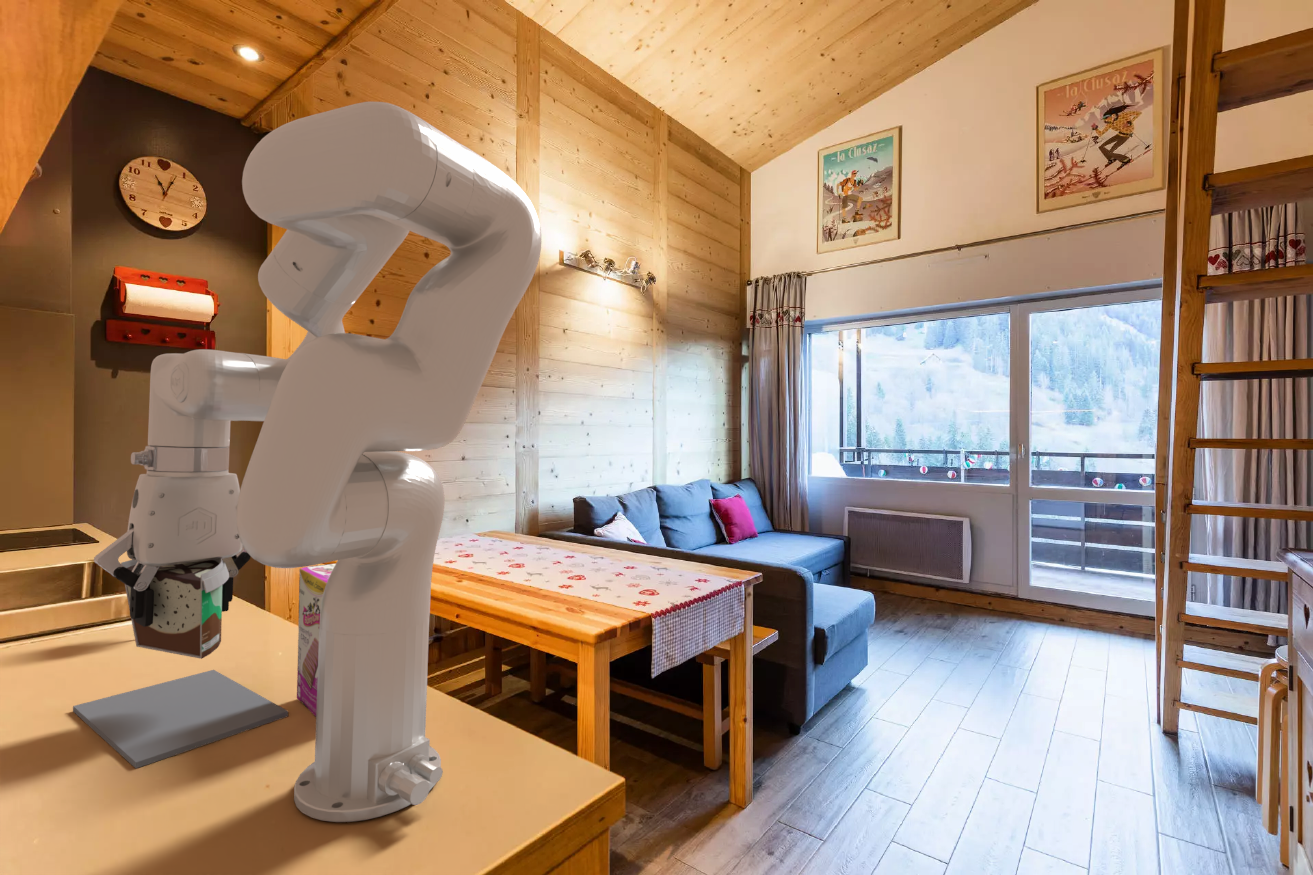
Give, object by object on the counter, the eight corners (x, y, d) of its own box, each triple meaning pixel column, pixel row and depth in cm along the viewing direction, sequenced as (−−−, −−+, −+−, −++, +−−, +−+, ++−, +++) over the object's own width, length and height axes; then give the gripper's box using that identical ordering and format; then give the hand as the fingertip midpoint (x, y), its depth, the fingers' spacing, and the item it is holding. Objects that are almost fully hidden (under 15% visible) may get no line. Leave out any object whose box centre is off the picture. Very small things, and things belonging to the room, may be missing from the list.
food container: (259, 635, 74) (254, 556, 72) (212, 660, 68) (205, 575, 66) (178, 621, 77) (171, 545, 75) (126, 644, 71) (117, 562, 69)
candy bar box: (293, 700, 75) (297, 567, 75) (336, 688, 79) (340, 561, 79) (325, 732, 68) (330, 584, 67) (372, 718, 71) (376, 577, 71)
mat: (287, 716, 71) (288, 710, 71) (135, 768, 59) (136, 762, 59) (213, 674, 82) (213, 669, 82) (72, 711, 70) (73, 705, 70)
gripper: (101, 465, 61) (94, 643, 61) (284, 463, 76) (279, 606, 76) (78, 461, 65) (72, 627, 66) (256, 459, 80) (250, 595, 80)
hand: (183, 614), depth 71 cm, fingers closed on food container, 6 cm apart
